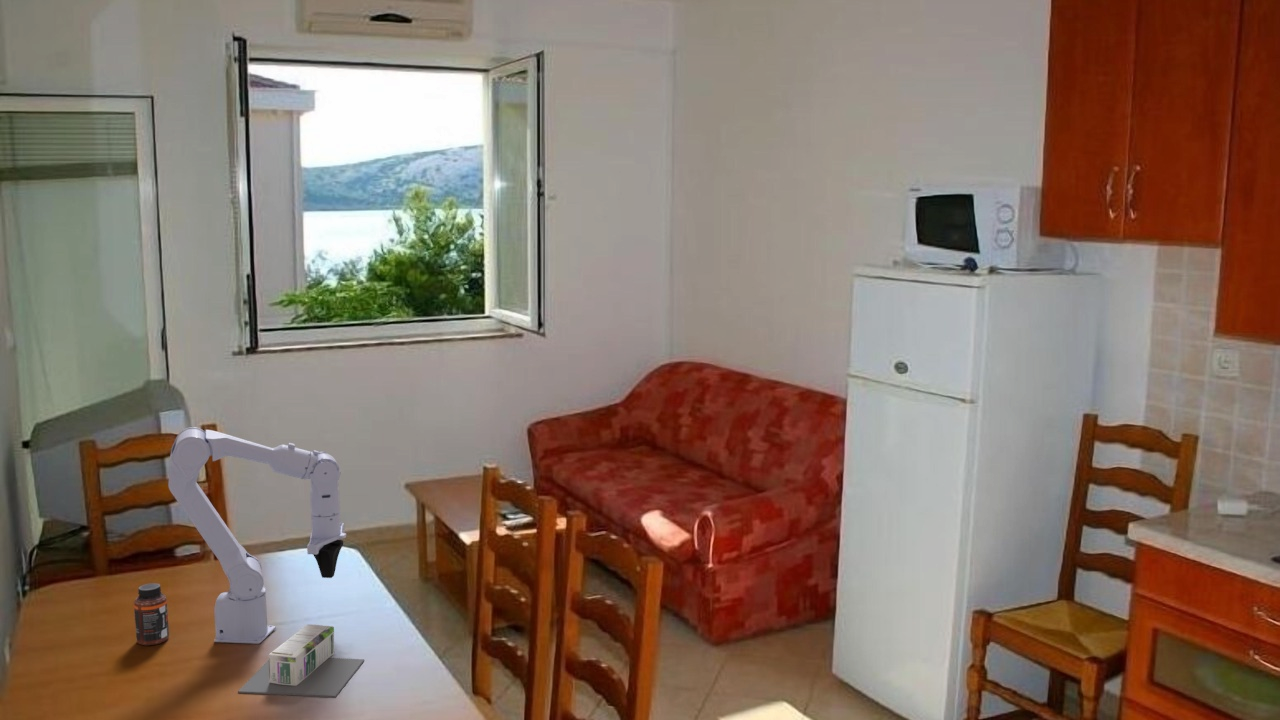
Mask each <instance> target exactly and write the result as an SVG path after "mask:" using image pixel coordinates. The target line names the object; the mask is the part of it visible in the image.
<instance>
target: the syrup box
mask: <svg viewBox="0 0 1280 720" xmlns="http://www.w3.org/2000/svg"><path fill="white" fill-rule="evenodd" d="M334 654H335V627H334V626H332V625H322V624H311V623H307V624H306V625H304V626H303V627H302V628H300V630H298V631H297V632H296V633H295V634H293V635H292V636H290V637H289V638H288V639H287V640H285V641H284V642H283V643H281V644H280V645H279V646H277V647H276V648H275V649H274V650H273V651H271V652H270V653H269V654H268V655H267V656H268V660H269V683H275V684H282V685H291V686H297V685H298V684H299V683H301V682H302V681H303V680H304V679H305V678H306V677H307V676H309V675H310V674H311V673H312V672H313V671H314V670H315V669H316V668H318V667H319V666H320V665H321V664H322V663H323V662H325V661H326V660H327V659H328V658H332V656H333V655H334Z"/></svg>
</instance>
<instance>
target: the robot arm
mask: <svg viewBox="0 0 1280 720" xmlns="http://www.w3.org/2000/svg"><path fill="white" fill-rule="evenodd" d="M210 457H212V458H211V459H212V460H211V461H212V462H215V461H218V460H221V459H223V458H225V457H234V458H236V459H237V458H238V459H243V460H248V461H253V462H257V463H263V464H267V465H269V466H270V468H271V470H272V472H273V473H277V474H281V475H284V476H290V477H293V478H297V479H300V480H310V492H309V498H310V522H311V523H310V524H311V525H310V526H311V527H310V528H311V534H310V537H309V542H308V543H307V545H306V550H307V551H306V553H307V555H312V556H313V557H314V558H315V561H316V563H317V566H318V568H319V572H320V575H321V577H322V578H325V579H332V578H333V577H334V576H335V573H336V568H337V563H338V559H339V558H338V557H339V555H340V552H341V550H342V548H343V545H344V539H346V537H347V533H345V531H346V530H345V523H344V522H341V507H340V506H341V505H340V503H341V502H340V490H339V486H340V485H339V483H340V482H339V480H340V479H341V475H342V473H341V472H342V471H341V469H340V467H339V464H338V462H337V460H336V458H335V457H334V456H333V455H331V454H329V453H327V452H326V451H318V450H315V449H313V450H312V451H310V450H306V449H302V448H299V447H296V444H295V443H292V442H288V444H280V445H277V446H275V447H270V446H267V445H263V444H261V443H257V442H254V441H250V440H246V439H243V438H241V437H237V436H234V435H230V434H227V433H225V432H224V433H223V432H220V431H216V430H212V429H204V430H203V429H202V428H199V427H193V426H191V427H186V428H184V429H182V430H181V431H180V432H179V433H178V434H177V435H176V438H175V439H174V442H173V444H172V446H171V450H170V458H169V470H168V471H169V473H168V489H169V491H170V493H171V494H172V495H173V497H174V499H175V500H176V501H177V503H178V504H179V506H180V507H181V509H182V510H183V512H184V513H185V514H186V516H187V517H188V518H189V521H190V522H191V523H192V524H193V525H194V527H195V529H196V530H197V531H198V532H199V534H200V535H201V537H202V538H203V540H204V542H205V543H206V544H207V546H208V547H209V548H210V550H211V551H212V553H213V554H214V555H215V557H216V559H217V560H218V561H219V563H220V566H221V569H222V570H223V572H224V574H225V576H226V577H227V579H228V582H229V590H228V591H226V592H225V591H224V592H221V593H220V594H219V595H218V596H217V598H216V600H215V604H214V610H213V611H214V627H215V629H214V630H215V638H214V642H215V643H230V644H231V643H233V644H255V645H259V644H261V643H263V641H264V640H265V639H266V638H267V637H268V636H269V635H270V634H272V632H273V631H275V629H277V628H276V625H268V608H267V606H268V605H267V592H266V591H267V589H266V586H264V583H265V581H264V577H263V573H262V568H263V567H262V564H261V562H260V560H259V559H258V558H257V557H256V556H255V555H251V554H250V553H249V552H248V551H247V550H246V549H245V547H244V546H243V545H242V544H240V543H239V541H238V540H237V538H236V537H235V535H234V534H233V533H232V531H231V530H230V528H229V527H228V526H227V524H226V522H225V521H224V520H223V518H222V517H221V515H220V514H219V512H218V511H217V510H216V508H215V507H214V506H213V504H212V502H211V501H210V499H209V498H208V497H207V494H206V493H205V492H204V490H203V489H202V488H201V487H200V485H199V484H198V483H197V481H198V478H199V475H200V471H201V470H202V469H203V468H204V466H205V465H206V463H208V461H209V458H210Z"/></svg>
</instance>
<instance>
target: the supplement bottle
mask: <svg viewBox="0 0 1280 720" xmlns="http://www.w3.org/2000/svg"><path fill="white" fill-rule="evenodd" d="M137 592H138V596H137V597H136V598H135V599H134V601H133V608H134V610H133V611H134V621H135V622H134V624H135V634H136V643H137V644H139V645H142V646H155V645H159V644H162V643H164V642H166V641H167V640H168V639H169V638H170V637H169V636H170V629H169V627H170V626H169V614H168V613H169V611H168V601H167V600H168V599H167V596H166V595H165V594H164V593H163V592H162V589H161V584H160V583H156V582H155V583H154V582H153V583H151V582H150V583H145V584H143V585H140V586H139V587H138V590H137Z"/></svg>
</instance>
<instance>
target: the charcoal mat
mask: <svg viewBox="0 0 1280 720" xmlns="http://www.w3.org/2000/svg"><path fill="white" fill-rule="evenodd" d="M364 662H365V659H364V658H340V657H329V658H328V659H327V660H326V661H325V662H323V663H322V664H321V665H320V666H319V667H318V668H316V669H315V670H314V671H313V672H312V673H311V674H310V675H309V676H307V677H306V678H305V679H304V680H303V681H302V682H301V683H299V684H298V685H297V686H291V685H282V684H275V683H269V659H268V660H267V661H266V662H265V663H264V664H263V665H262V666H261V667H260V668H259V669H258V670H257V671H256V672H255V673H254V674H253V675H252V676H251V677H250V678H249V679H248V681H246V682H245V683H244V684H243V685H242V686H241V687H240V688H239V689H238V691H237V693H238V694H255V695H259V694H260V695H278V696H296V697H297V696H298V697H299V696H301V697H317V698H318V697H319V698H323V697H324V698H336V697H338V695H339V693H341V691H342V690H343V689H344V687H345V686H346V685H347V684H348V682H349V681H350V679H352V677H353V676H354V674H355V673H356V672H357V670H358V669H359V668H360V667H361V666H362V664H363V663H364Z"/></svg>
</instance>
